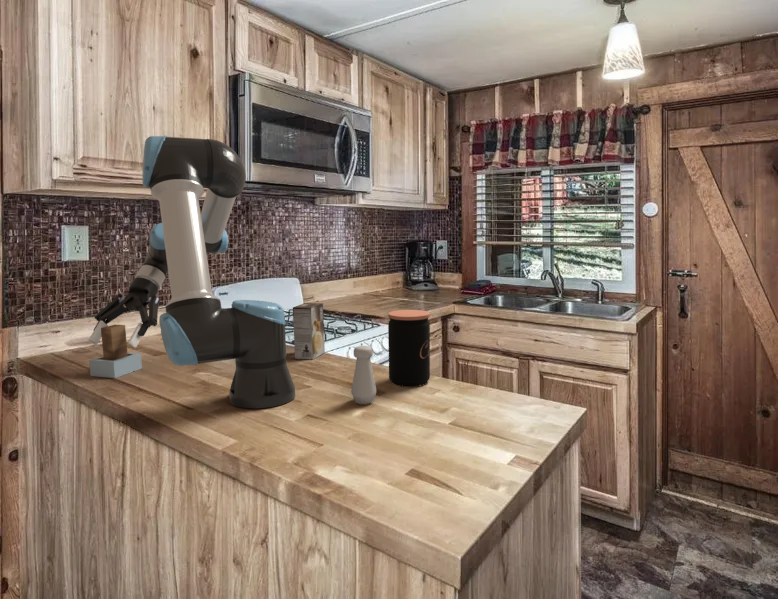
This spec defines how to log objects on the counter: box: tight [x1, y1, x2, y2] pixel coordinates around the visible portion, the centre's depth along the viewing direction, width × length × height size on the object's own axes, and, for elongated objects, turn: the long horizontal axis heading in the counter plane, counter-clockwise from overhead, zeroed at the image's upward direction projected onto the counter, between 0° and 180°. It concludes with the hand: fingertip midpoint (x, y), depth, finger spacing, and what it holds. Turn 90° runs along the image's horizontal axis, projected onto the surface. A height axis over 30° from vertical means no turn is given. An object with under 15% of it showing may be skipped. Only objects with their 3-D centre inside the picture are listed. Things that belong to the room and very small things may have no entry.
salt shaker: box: [350, 345, 377, 405], centre depth 121 cm, size 6×6×13 cm
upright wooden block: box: [101, 324, 128, 361], centre depth 148 cm, size 4×5×12 cm
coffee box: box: [292, 302, 326, 360], centre depth 164 cm, size 9×6×16 cm
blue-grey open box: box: [88, 351, 143, 379], centre depth 149 cm, size 8×10×4 cm
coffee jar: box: [387, 309, 431, 388], centre depth 136 cm, size 11×11×18 cm
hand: (111, 343), depth 147 cm, fingers open, 13 cm apart
